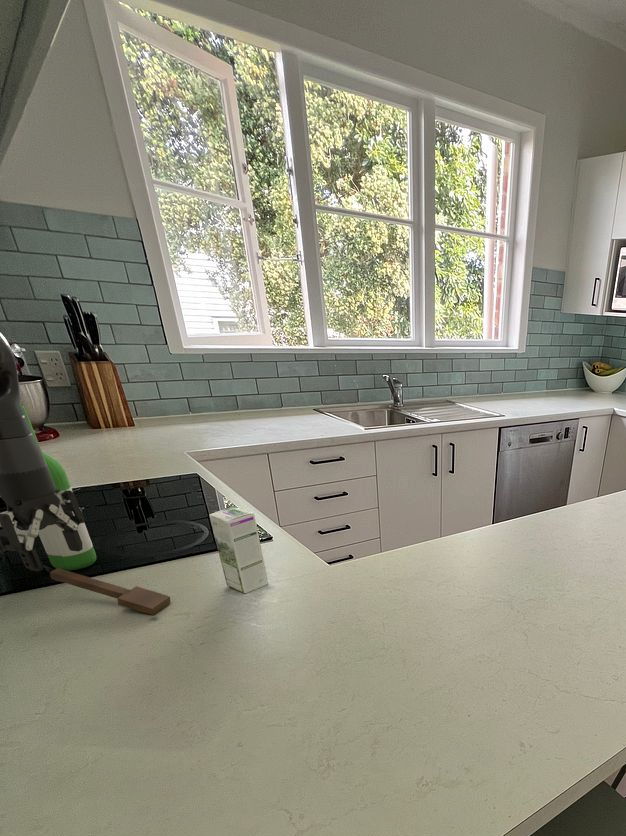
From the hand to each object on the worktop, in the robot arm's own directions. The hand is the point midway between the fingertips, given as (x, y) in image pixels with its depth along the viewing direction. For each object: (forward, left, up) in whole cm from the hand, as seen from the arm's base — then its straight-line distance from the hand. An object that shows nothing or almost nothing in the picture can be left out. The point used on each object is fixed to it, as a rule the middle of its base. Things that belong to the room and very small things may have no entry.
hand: (57, 559), depth 94 cm
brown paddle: (+8, +2, -6) cm, 10 cm away
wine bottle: (-14, +10, -8) cm, 18 cm away
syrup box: (+23, +19, -8) cm, 31 cm away
